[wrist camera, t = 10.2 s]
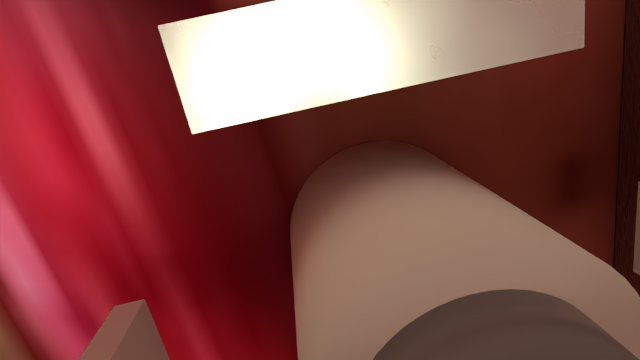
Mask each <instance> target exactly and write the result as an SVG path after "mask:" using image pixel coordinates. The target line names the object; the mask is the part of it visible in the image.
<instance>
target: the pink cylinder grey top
mask: <svg viewBox="0 0 640 360" xmlns="http://www.w3.org/2000/svg"><path fill="white" fill-rule="evenodd" d="M290 239H291V255H292V272H293V288H294V304H295V321H296V337H297V353H298V360H640V296H639V295H638V293H637V292H636V290H635V289H634V288H633V287H632V286H631V284H630V283H629V282H628V281H627V280H626V279H625V278H624V277H623V276H622V275H621V274H620V273H618V272H617V271H616V270H615V269H613V268H612V267H611V266H610V265H608V264H607V263H605V262H604V261H602V260H600V259H599V258H597V257H596V256H594V255H592V254H591V253H589V252H588V251H586V250H584V249H583V248H581V247H580V246H578V245H576V244H575V243H573V242H572V241H570V240H568V239H567V238H565V237H564V236H562V235H560V234H559V233H557V232H556V231H554V230H552V229H551V228H549V227H548V226H546V225H544V224H543V223H541V222H540V221H538V220H536V219H535V218H533V217H532V216H530V215H528V214H527V213H525V212H524V211H522V210H520V209H519V208H517V207H516V206H514V205H512V204H511V203H509V202H508V201H506V200H504V199H503V198H501V197H500V196H498V195H497V194H495V193H493V192H492V191H490V190H489V189H487V188H485V187H484V186H482V185H481V184H479V183H477V182H476V181H474V180H473V179H471V178H469V177H468V176H466V175H465V174H463V173H461V172H460V171H458V170H457V169H455V168H453V167H452V166H450V165H449V164H447V163H445V162H444V161H442V160H441V159H439V158H437V157H436V156H434V155H433V154H431V153H429V152H427V151H426V150H424V149H422V148H420V147H417V146H415V145H412V144H408V143H404V142H399V141H389V140H386V141H372V142H366V143H362V144H358V145H355V146H352V147H349V148H347V149H345V150H342V151H340V152H339V153H337V154H335V155H334V156H332V157H330V158H329V159H328V160H326V161H325V162H324V163H323V164H321V165H320V166H319V167H318V168H317V169H316V170H315V171H314V172H313V173H312V174H311V175H310V177H309V178H308V179H307V181H306V182H305V183H304V185H303V187H302V188H301V190H300V192H299V194H298V196H297V199H296V201H295V203H294V207H293V211H292V215H291V222H290Z"/></svg>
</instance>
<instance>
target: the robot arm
mask: <svg viewBox="0 0 640 360" xmlns="http://www.w3.org/2000/svg"><path fill="white" fill-rule="evenodd" d="M633 272H635V273H637V274H639V275H640V181H639V182H638V196H637V213H636V229H635V246H634V262H633ZM79 360H170V359H169V356H168V354H167V352H166V349H165V347H164V344H163V342H162V339H161V337H160V335H159V332H158V330H157V327H156V325H155V323H154V320H153V318H152V315H151V313H150V310H149V308H148V306H147V303H146V301H145V299H142V300H138V301H134V302H129V303H125V304H121V305H117V306H114V307H113V309H112V310H111V312H110V313H109V315H108V316H107V318H106V319H105V321H104V322H103V324H102V325H101V327H100V328H99V330H98V331H97V333H96V334H95V336H94V337H93V339H92V340H91V342H90V343H89V345H88V346H87V348H86V349H85V351H84V352H83V354H82V355H81V357H80V358H79Z"/></svg>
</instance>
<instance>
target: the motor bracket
mask: <svg viewBox="0 0 640 360" xmlns="http://www.w3.org/2000/svg"><path fill="white" fill-rule="evenodd" d="M158 29H159V32H160V35H161V38H162V41H163V44H164V47H165V51H166V54H167V57H168V60H169V63H170V66H171V69H172V73H173V76H174V79H175V82H176V85H177V88H178V92H179V95H180V98H181V101H182V104H183V107H184V110H185V114H186V117H187V120H188V123H189V126H190V129H191V132H192V134H196V133H200V132H205V131H209V130H214V129H218V128H223V127H227V126H232V125H236V124H241V123H245V122H250V121H254V120H259V119H263V118H268V117H272V116H277V115H281V114H286V113H290V112H295V111H299V110H304V109H308V108H313V107H317V106H322V105H327V104H331V103H336V102H340V101H345V100H349V99H354V98H358V97H363V96H367V95H372V94H376V93H381V92H385V91H390V90H394V89H399V88H403V87H408V86H412V85H417V84H421V83H426V82H430V81H435V80H439V79H444V78H448V77H453V76H457V75H462V74H466V73H471V72H475V71H480V70H484V69H489V68H493V67H498V66H502V65H507V64H512V63H516V62H521V61H525V60H530V59H534V58H539V57H543V56H548V55H552V54H557V53H561V52H566V51H570V50H575V49H579V48H584V31H585V0H277V1H272V2H267V3H263V4H258V5H253V6H248V7H244V8H239V9H234V10H229V11H225V12H220V13H215V14H211V15H206V16H201V17H196V18H192V19H187V20H182V21H177V22H173V23H168V24H163V25H159V26H158ZM639 181H640V0H627V8H626V29H625V49H624V70H623V91H622V112H621V133H620V154H619V175H618V196H617V217H616V237H615V258H614V269H615V270H616V271H617V272H618V273H620V274H621V275H622V276H623V277H624V278H625V279H626V280H627V281H628V282H629V283H630V284H631V286H632V287H633V288H634V289H635V290H636V292H637V293H638V295H639V296H640V275H639V274H637V273H635V272H633V262H634V246H635V229H636V213H637V196H638V182H639Z"/></svg>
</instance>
